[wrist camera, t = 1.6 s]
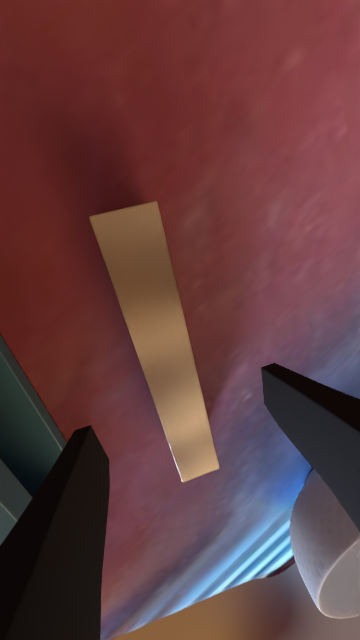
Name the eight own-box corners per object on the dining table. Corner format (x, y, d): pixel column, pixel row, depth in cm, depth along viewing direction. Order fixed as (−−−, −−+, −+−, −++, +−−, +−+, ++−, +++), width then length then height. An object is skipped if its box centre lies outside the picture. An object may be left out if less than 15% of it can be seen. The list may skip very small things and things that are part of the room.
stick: (204, 429, 18) (219, 468, 15) (173, 441, 17) (182, 483, 14) (149, 208, 11) (157, 200, 8) (98, 220, 11) (88, 216, 8)
